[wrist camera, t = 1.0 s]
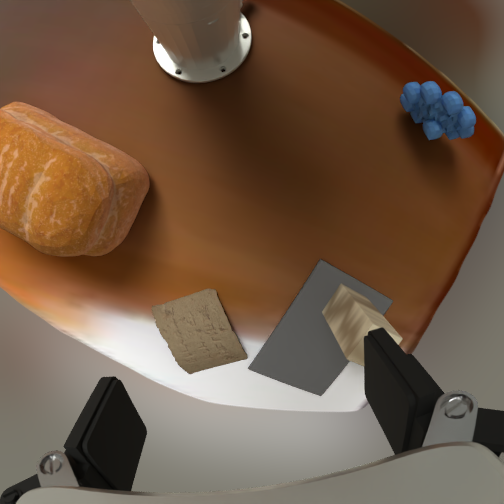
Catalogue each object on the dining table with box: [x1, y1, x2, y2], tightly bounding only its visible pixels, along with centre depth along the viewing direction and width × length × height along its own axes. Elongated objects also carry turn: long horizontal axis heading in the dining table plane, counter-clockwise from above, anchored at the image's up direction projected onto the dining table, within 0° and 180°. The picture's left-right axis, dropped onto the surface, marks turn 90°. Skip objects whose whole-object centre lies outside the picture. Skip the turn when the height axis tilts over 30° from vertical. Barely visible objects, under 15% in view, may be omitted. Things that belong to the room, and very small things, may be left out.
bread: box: [0, 102, 150, 257], centre depth 30 cm, size 14×26×15 cm, turn 60°
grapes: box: [400, 81, 476, 140], centre depth 32 cm, size 12×7×12 cm, turn 68°
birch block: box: [322, 284, 402, 366], centre depth 39 cm, size 5×5×12 cm
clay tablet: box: [151, 289, 247, 374], centre depth 44 cm, size 14×10×3 cm
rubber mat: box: [248, 259, 393, 396], centre depth 46 cm, size 20×14×1 cm
